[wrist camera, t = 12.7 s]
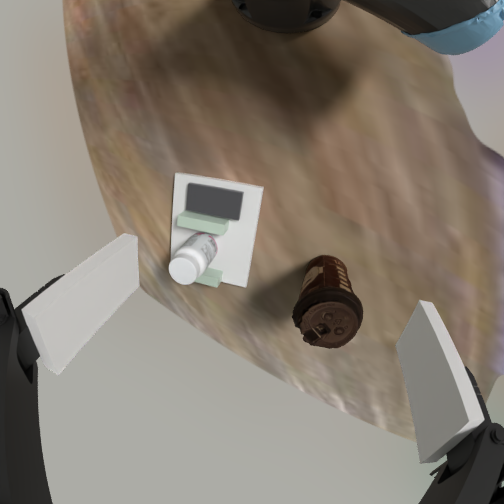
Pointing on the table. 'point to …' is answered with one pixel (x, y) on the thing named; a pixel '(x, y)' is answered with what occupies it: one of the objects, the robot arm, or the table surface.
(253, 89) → the table surface
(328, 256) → the coffee cup
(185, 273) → the pill bottle
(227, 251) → the dock
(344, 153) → the table surface
